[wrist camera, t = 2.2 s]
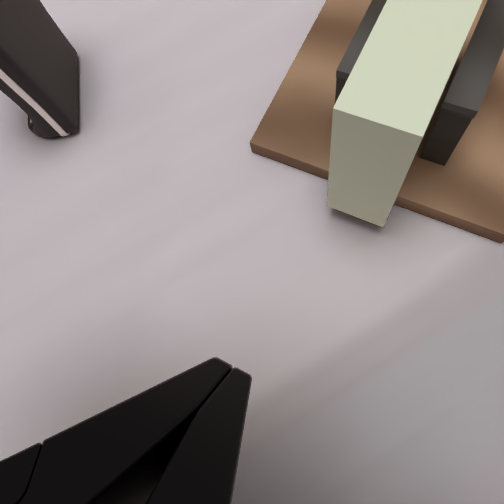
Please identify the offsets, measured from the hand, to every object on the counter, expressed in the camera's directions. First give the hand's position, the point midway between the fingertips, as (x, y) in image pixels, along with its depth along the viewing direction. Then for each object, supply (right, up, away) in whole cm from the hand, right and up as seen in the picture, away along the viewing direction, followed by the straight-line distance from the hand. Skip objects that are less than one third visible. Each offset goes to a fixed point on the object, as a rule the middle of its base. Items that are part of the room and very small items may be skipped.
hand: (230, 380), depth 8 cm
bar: (+8, +9, +14) cm, 18 cm away
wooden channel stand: (+10, +13, +16) cm, 23 cm away
